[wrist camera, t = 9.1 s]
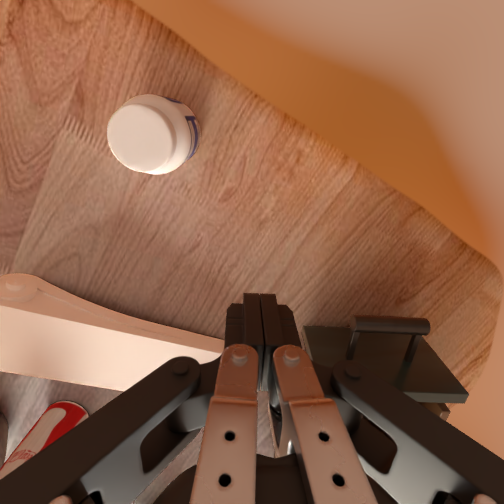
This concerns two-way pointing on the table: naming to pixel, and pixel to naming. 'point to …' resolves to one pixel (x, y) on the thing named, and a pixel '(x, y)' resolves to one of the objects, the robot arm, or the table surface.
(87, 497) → the robot arm
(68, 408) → the beverage can
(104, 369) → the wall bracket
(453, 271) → the table surface
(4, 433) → the planter
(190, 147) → the pill bottle
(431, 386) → the drawer
